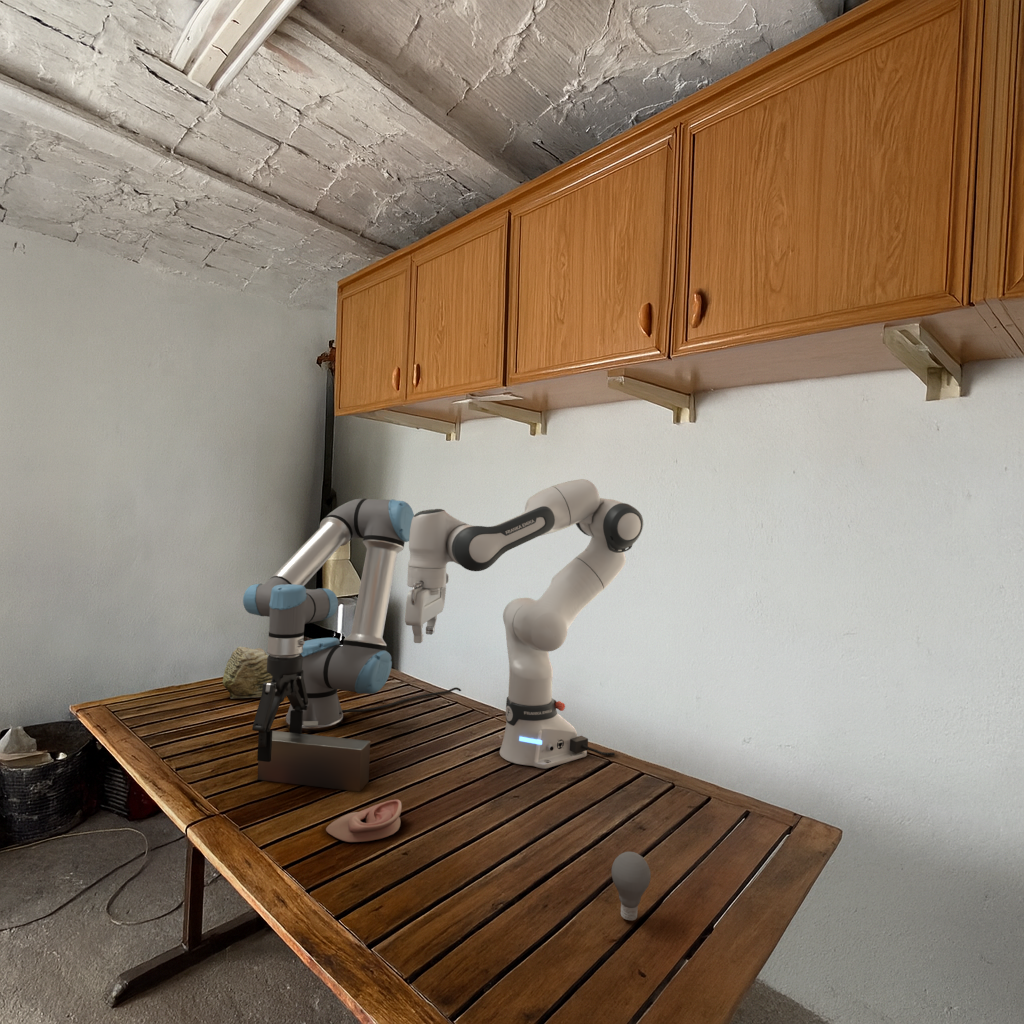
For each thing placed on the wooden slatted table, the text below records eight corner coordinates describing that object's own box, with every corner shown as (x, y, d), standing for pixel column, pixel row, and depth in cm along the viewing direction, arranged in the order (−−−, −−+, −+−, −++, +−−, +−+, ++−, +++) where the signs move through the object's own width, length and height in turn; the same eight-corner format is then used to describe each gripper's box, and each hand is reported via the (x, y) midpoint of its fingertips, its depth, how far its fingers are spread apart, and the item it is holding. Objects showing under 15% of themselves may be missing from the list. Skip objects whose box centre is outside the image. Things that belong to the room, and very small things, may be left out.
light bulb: (605, 905, 101) (608, 843, 101) (642, 905, 102) (645, 843, 102) (614, 931, 95) (617, 865, 95) (653, 930, 96) (656, 865, 96)
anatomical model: (318, 816, 117) (346, 789, 129) (317, 837, 118) (346, 808, 129) (385, 827, 115) (408, 798, 126) (384, 848, 115) (407, 818, 126)
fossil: (218, 695, 195) (220, 647, 195) (278, 685, 208) (279, 640, 207) (228, 703, 189) (230, 653, 188) (289, 692, 201) (290, 645, 201)
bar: (257, 779, 140) (258, 738, 140) (269, 770, 145) (271, 730, 145) (359, 792, 137) (361, 749, 137) (368, 781, 142) (370, 740, 142)
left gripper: (271, 668, 129) (266, 773, 129) (325, 644, 153) (321, 732, 153) (237, 665, 130) (232, 769, 130) (296, 642, 155) (292, 729, 154)
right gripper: (427, 585, 136) (424, 649, 136) (450, 574, 156) (448, 630, 157) (399, 583, 137) (396, 647, 137) (425, 573, 157) (423, 628, 157)
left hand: (280, 749), depth 142 cm, fingers open, 13 cm apart
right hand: (424, 638), depth 147 cm, fingers open, 8 cm apart
